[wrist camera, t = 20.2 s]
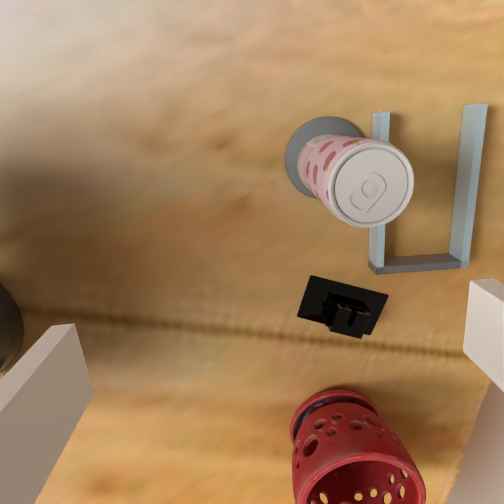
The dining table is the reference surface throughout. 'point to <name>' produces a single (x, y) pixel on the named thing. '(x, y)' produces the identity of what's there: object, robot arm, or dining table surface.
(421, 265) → the channel
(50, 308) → the dining table surface
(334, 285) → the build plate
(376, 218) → the beverage can
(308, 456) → the plant pot
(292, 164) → the grey round disc
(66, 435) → the robot arm
